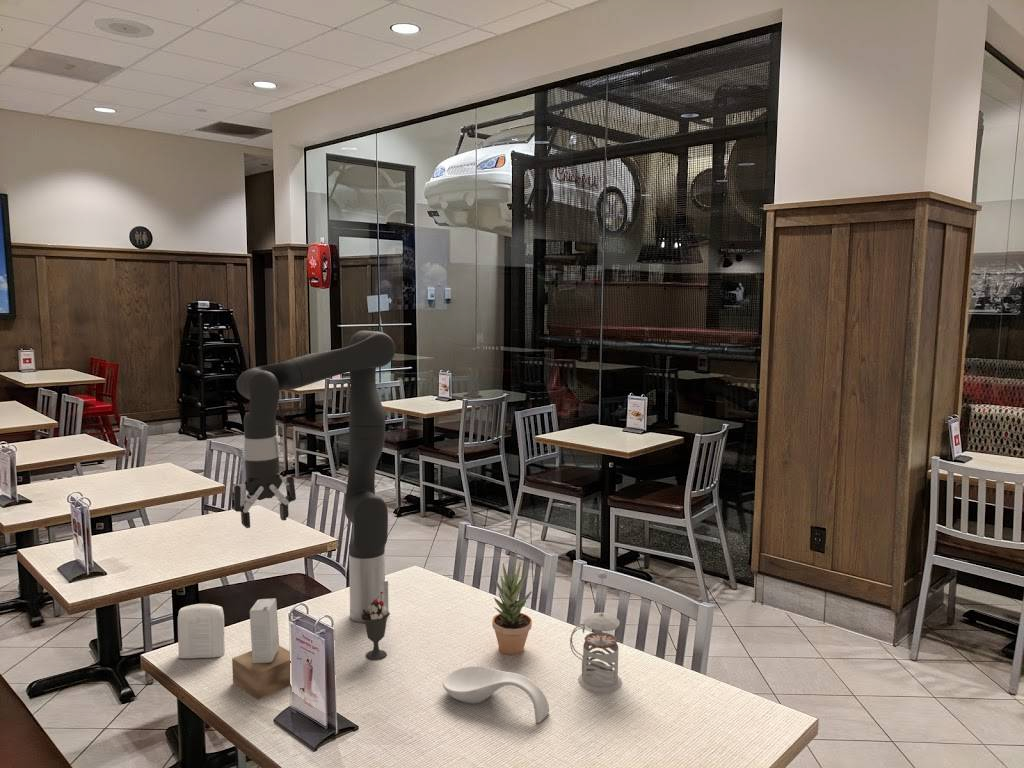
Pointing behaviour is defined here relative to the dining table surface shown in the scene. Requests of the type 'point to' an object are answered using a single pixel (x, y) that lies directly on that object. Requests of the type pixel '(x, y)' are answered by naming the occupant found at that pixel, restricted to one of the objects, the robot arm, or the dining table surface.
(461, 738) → the dining table surface
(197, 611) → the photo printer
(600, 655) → the french press
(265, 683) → the walnut block
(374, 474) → the robot arm
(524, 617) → the potted plant
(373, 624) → the sundae
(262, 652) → the skincare box
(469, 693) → the spoon rest
